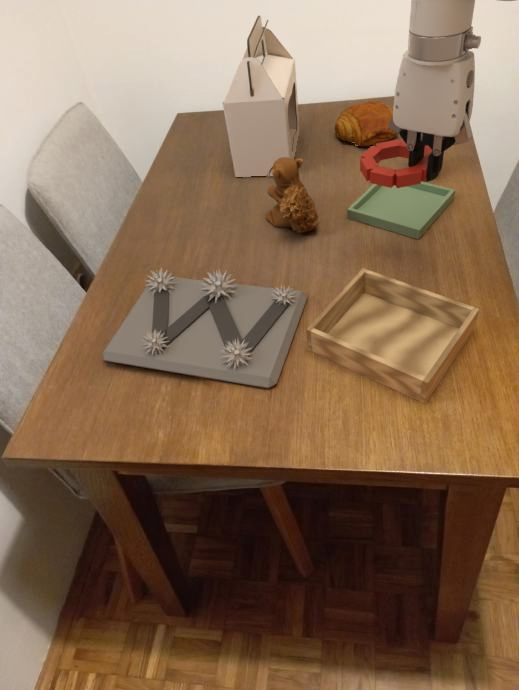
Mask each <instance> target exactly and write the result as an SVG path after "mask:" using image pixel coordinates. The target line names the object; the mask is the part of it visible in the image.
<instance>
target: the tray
mask: <svg viewBox="0 0 519 690" xmlns="http://www.w3.org/2000/svg"><path fill="white" fill-rule="evenodd" d="M456 191H457V190H456V189H455V188H451V187H446V186H442V185H438V184H434V183H430V182H427V181H425V182H424V181H421V184H416V185H411V186H406V187H401V188H397V187H396V186H395V185H394V186H393V187H392V188H389V187H385V186H381V185H377V184H371V186H370V187H369V188H368V189H366V190H365V191H364V192H363V193H362V194H361V195H360V196H359V197H358V198H357V199H356V200H355V201H354V202H353V203H351V205H350V206H349V207H347V209H346V219H350V220H353V221H356V222H359V223H363V224H365V225H370V226H372V227H376V228H379V229H381V230H382V229H383V230H386V231H389V232H391V233H395V234H399V235H402V236H406V237H409V238H412V239H416V240H420V239H421V238H422V237H423V235H424V234H425V233H426V232H427V230H428V229H430V228H431V226H432V225H433V224H434V222H436V220H438V218H439V217H440V216H441V215H442V214H443V212H444V211H445V210H446V209H447V208H448V206H449V205H450V204H452V202H454V200H455V197H456Z"/></svg>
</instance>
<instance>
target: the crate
mask: <svg viewBox="0 0 519 690" xmlns="http://www.w3.org/2000/svg"><path fill="white" fill-rule="evenodd" d="M479 312H480V308H478V307H474V306H472V305H471V304H467V303H464V302H461V301H458V300H456V299H453V298H449V297H447V296H444V295H441V294H438V293H436V292H433V291H430V290H427V289H425V288H421V287H418V286H415V285H413V284H409V283H407V282H404V281H401V280H398V279H395V278H393V277H390V276H386V275H384V274H381V273H378V272H375V271H372V270H370V269H366V268H364V267H362V268H361V269H360V270H359V271H358V273H357V274H355V276H354V277H353V278H351V280H350V281H349V282H348V283H347V285H346V286H344V288H343V289H342V290H341V291H340V292H339V293H338V294H337V295H336V296H335V297H334V298H333V299H332V301H331V302H330V303H329V304H328V305H327V306H325V308H324V309H323V310H322V312H321V313H320V314H318V316H317V317H316V318H315V319H314V320H313V321H312V322H311V323H310V325H308V326H307V328H306V329H305V333H306V343H307V350H308V351H310V352H312V353H315V354H316V355H319V356H321V357H323V358H326V359H327V360H330V361H332V362H334V363H335V364H338V365H341V366H342V367H345V368H347V369H349V370H351V371H352V372H353V371H354V372H355V373H358V374H359V375H361V376H364V377H366V378H369V379H371V380H373V381H375V382H377V383H379V384H382V385H383V386H385V387H388V388H390V389H392V390H394V391H396V392H398V393H400V394H403V395H405V396H407V397H409V398H412V399H414V400H416V401H418V402H420V403H421V404H426V403H427V401H428V400H429V398H430V397H431V395H432V394H433V392H434V391H435V389H436V388H437V387H438V385H439V383H440V382H441V380H442V379H443V378H444V376H445V374H446V373H447V372H448V370H449V369H450V367H451V366H452V364H453V362H454V361H455V360H456V358H457V357H458V356H459V354H460V353H461V351H462V349H463V348H464V347H465V345H466V344H467V342H468V340H469V339H470V338H471V336H472V335H473V333H474V331H475V328H476V324H477V320H478V316H479Z"/></svg>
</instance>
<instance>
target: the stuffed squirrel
mask: <svg viewBox="0 0 519 690" xmlns="http://www.w3.org/2000/svg"><path fill="white" fill-rule="evenodd" d="M303 162H304V160H303V159H302V158H300V157H299V158H296V159H292V158H288V157H282V158H279V159H277V160H276V161H275V162H274V164H273V167H272V168H271V169H270V170H269V171H270V172H268V173H269V176H268V173H267V175H266V177H265V178H268V179H270V177H271V176H270V173H271V174H272V175H273V176H272V178H273V180H274V183H275V185H269V187H268V188H267V194H268V196H269V197H270V198H272V199H274V201H275V202H277V204H276V205H274V206H273V207H272V208H271V210H267V212H265V213H264V216H265V219H266V220H267V221H268V222H270V224H272V225H273V226H274V227H277V228H291V229H292V230H293V232H295V233H297V234H303V233H308V232H311V231H314V230H315V229H317V226H318V225H319V224H320V223H319V215H318V211H317V209H316V208H315V207H316V206H315V201H314V199H313V197H312V196H311V195H309V193H308V192H309V191H308V189H307V188H306V187H305V185H304V184H303V182H302V181H301V179H300V173H299V172H300V171H299V169H300V168H301V166H302V164H303Z"/></svg>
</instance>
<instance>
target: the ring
mask: <svg viewBox="0 0 519 690" xmlns="http://www.w3.org/2000/svg"><path fill="white" fill-rule="evenodd" d="M406 146H407V144H406V143H405V142H404V140H403V139H402V140H399V139H392V140H388V141H386V142H382V143H377V144H376V145H373V146H369V148H367V149H366V150H365V151H364V152H363V153H362V154H361V155H360V159H359V171H360V172H361V174H362V176H363V177H364V179H365V181H366V182H369V183H370V184H371V185H373V184H377V185H381V186H385V187H389V188H392V187H393V186H394V185H395V186H396V187H397V188H401V187H406V186H411V185H416V184H421V181H422V182H427V181H426V180H427V178H426V177H427V164H428V156H429V155H430V154H431V153H432V150H431V148H430V147H429V146H428V145H427V146H425V150H424V157H423V158H422V159H421V160H420V161H419V162H418V163H417V165H416V166H412V167H408V166H407V167H403V168H402V167H401V168H397V169H394V168H391V167H385V166H381V165H379V163H380V162H381V161H384V160H389V159H395V158H404V159H408V160H409V150H408V149H407V147H406Z"/></svg>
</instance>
